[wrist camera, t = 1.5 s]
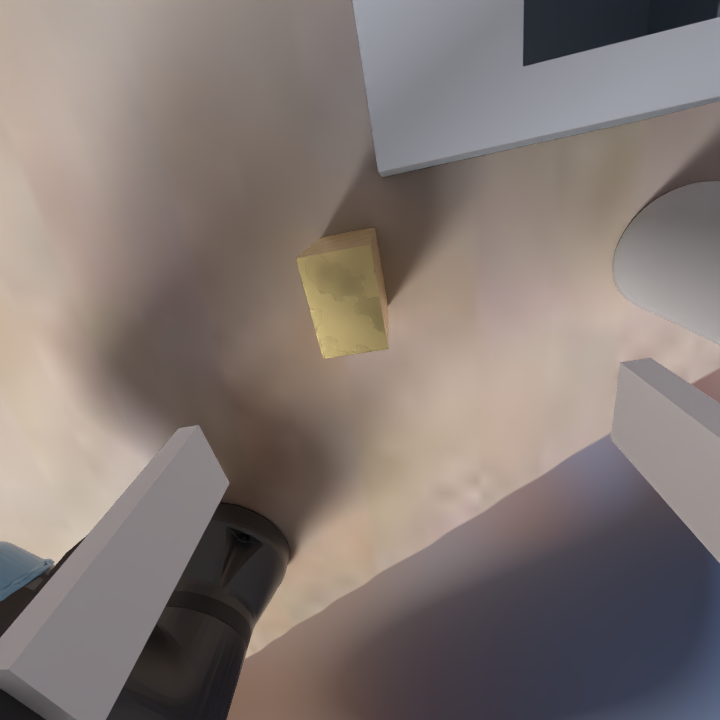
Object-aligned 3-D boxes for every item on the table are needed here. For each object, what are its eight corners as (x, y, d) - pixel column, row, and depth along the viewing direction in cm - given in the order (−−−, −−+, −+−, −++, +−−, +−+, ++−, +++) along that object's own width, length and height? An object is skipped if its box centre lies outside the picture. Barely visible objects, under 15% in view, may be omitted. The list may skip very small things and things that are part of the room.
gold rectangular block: (339, 314, 28) (322, 358, 21) (321, 237, 25) (295, 258, 18) (387, 305, 27) (388, 349, 20) (374, 226, 25) (370, 244, 18)
